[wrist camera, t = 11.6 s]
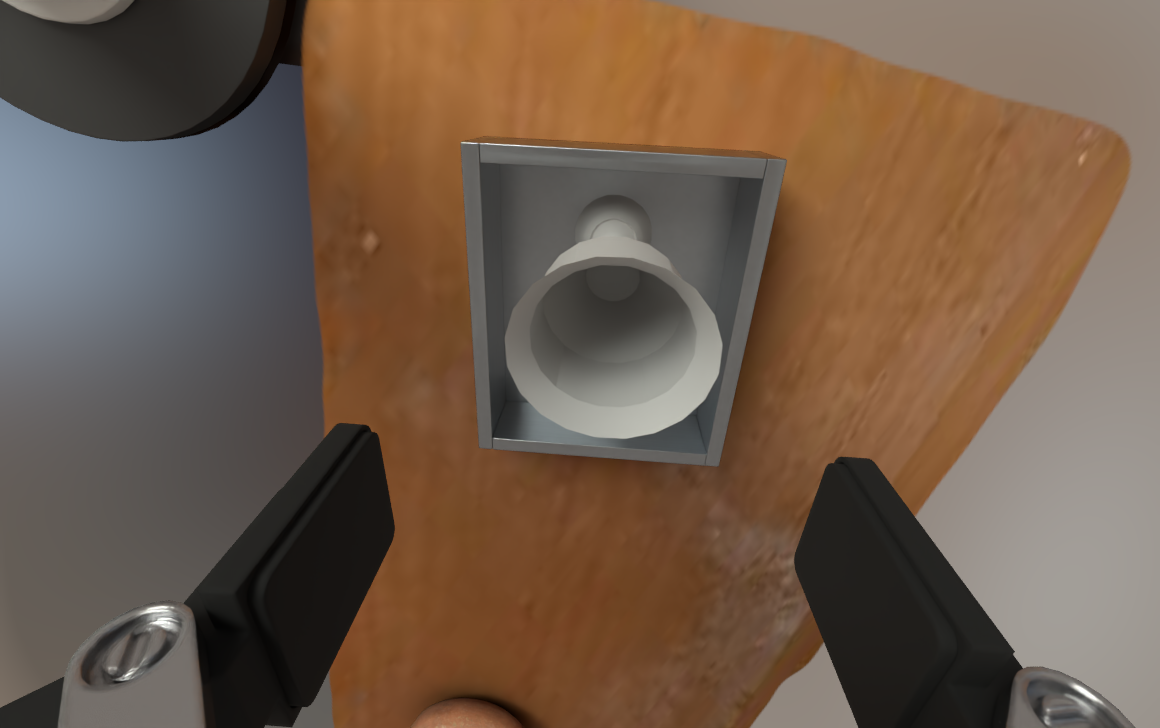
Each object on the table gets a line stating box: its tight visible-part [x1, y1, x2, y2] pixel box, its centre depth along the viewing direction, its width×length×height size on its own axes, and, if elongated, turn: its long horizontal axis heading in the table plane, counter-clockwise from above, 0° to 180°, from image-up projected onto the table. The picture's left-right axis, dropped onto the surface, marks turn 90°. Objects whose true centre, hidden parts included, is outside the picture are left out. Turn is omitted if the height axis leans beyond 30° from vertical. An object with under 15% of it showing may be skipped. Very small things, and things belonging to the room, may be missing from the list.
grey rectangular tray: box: [461, 136, 787, 467], centre depth 33 cm, size 17×20×5 cm
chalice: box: [505, 195, 723, 439], centre depth 25 cm, size 7×7×18 cm
